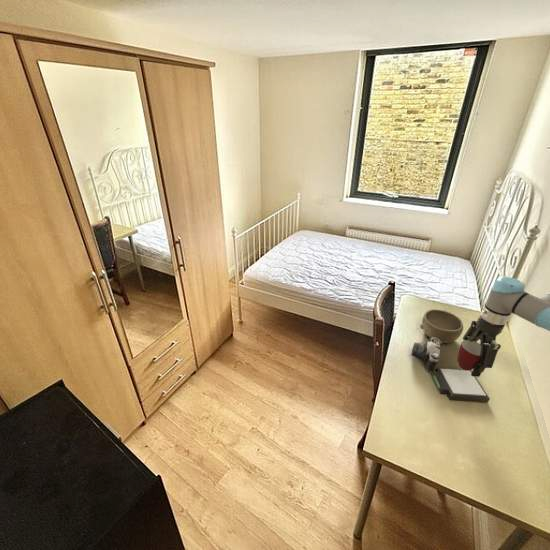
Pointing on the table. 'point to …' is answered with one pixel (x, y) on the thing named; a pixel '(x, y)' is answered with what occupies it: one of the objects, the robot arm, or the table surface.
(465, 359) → the mug
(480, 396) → the scale
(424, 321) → the bowl
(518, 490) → the table surface
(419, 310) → the table surface
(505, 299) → the robot arm
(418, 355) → the camera
